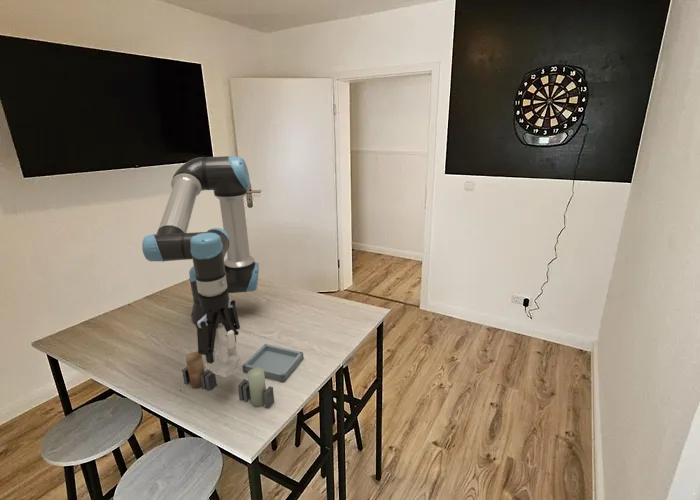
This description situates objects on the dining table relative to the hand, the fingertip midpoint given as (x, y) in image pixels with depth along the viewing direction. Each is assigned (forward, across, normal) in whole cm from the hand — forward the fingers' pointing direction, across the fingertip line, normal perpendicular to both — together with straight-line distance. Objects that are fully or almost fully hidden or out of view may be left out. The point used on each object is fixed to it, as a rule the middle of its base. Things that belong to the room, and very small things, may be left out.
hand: (223, 361), depth 106 cm
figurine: (+3, 0, 0) cm, 3 cm away
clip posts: (+10, 0, 0) cm, 10 cm away
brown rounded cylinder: (+11, 0, +11) cm, 15 cm away
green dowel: (+10, 0, -11) cm, 15 cm away
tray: (+11, +16, -6) cm, 20 cm away
